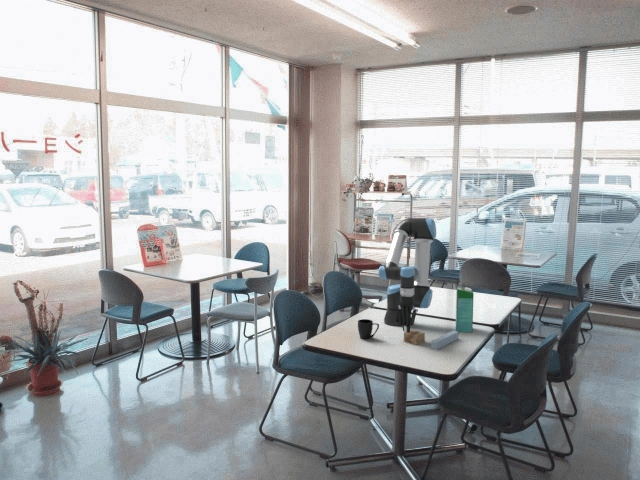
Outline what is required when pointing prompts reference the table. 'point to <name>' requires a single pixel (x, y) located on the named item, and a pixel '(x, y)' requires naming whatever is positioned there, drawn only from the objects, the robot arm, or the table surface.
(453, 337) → the pale blue bar
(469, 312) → the milk carton
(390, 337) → the table surface
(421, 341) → the block
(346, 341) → the table surface
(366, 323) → the mug
